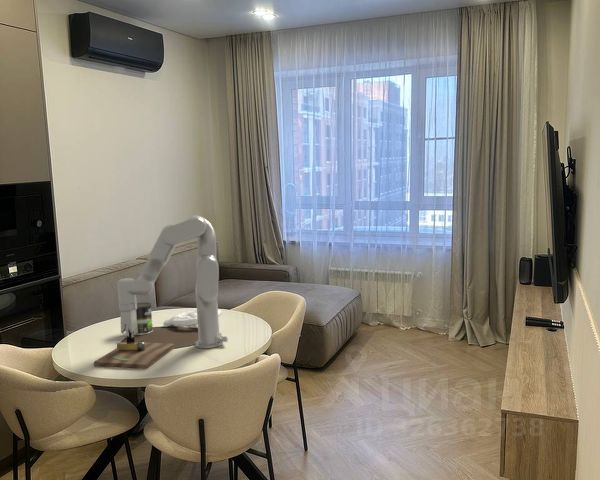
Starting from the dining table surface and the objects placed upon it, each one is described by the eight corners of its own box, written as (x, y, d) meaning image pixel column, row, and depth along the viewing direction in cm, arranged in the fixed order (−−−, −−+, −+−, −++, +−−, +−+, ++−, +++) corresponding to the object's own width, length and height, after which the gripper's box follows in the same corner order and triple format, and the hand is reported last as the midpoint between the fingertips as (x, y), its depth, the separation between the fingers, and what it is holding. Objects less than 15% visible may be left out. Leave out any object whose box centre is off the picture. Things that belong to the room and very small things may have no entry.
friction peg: (146, 348, 235) (145, 340, 235) (143, 350, 232) (142, 343, 232) (118, 348, 236) (118, 341, 236) (116, 350, 233) (115, 343, 233)
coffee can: (156, 329, 272) (154, 302, 270) (147, 335, 262) (144, 307, 260) (138, 328, 274) (136, 302, 272) (128, 334, 264) (125, 307, 262)
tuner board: (174, 348, 241) (174, 343, 241) (146, 369, 216) (145, 364, 216) (127, 345, 247) (127, 341, 246) (94, 366, 222) (93, 361, 221)
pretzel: (160, 331, 272) (158, 319, 272) (184, 320, 295) (182, 309, 294) (207, 327, 263) (205, 315, 263) (229, 316, 285) (227, 304, 285)
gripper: (123, 302, 242) (126, 341, 244) (114, 311, 227) (118, 352, 229) (140, 301, 242) (143, 340, 245) (132, 310, 228) (135, 351, 230)
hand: (131, 345), depth 237 cm, fingers closed
